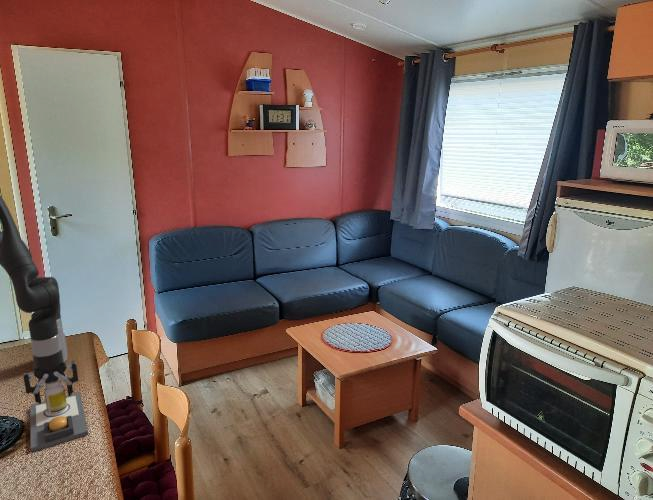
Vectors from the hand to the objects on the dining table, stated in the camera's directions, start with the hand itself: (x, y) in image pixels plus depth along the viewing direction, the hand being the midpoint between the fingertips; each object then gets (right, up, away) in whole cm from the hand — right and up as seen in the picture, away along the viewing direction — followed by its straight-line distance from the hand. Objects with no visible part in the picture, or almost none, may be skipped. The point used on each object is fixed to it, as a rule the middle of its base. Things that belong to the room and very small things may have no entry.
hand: (55, 398), depth 141 cm
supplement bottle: (0, -4, +1) cm, 4 cm away
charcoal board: (+2, -6, -2) cm, 7 cm away
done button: (+6, -5, -9) cm, 12 cm away
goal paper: (0, -4, +1) cm, 4 cm away
